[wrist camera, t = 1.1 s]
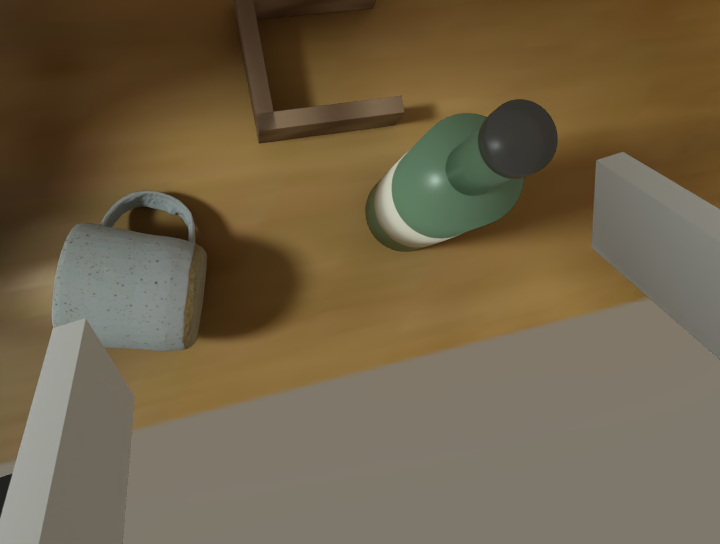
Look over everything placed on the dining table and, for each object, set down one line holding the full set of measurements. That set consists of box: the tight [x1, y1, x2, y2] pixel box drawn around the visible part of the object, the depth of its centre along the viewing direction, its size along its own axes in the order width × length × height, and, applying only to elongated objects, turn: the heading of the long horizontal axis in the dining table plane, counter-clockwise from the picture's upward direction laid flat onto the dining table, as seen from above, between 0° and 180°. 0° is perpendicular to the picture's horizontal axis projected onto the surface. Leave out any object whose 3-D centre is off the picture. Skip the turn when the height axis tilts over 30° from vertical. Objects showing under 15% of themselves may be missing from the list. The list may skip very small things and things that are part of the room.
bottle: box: [366, 99, 557, 252], centre depth 35 cm, size 6×6×20 cm
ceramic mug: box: [52, 191, 207, 351], centre depth 37 cm, size 11×8×8 cm
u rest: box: [233, 0, 405, 143], centre depth 42 cm, size 10×10×3 cm
